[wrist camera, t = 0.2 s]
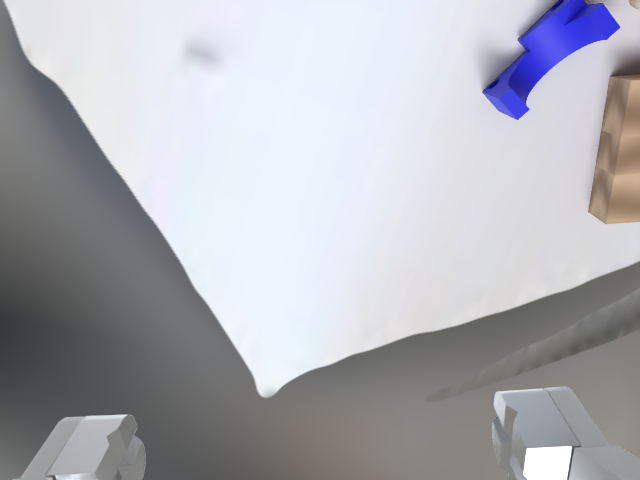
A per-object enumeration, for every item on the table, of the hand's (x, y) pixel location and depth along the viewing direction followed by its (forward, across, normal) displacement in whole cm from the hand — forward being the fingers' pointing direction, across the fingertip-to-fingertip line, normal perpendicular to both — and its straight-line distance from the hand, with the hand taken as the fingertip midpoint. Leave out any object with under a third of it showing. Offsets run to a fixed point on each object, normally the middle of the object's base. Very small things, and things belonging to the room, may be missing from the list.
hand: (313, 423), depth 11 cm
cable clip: (+48, -23, -3) cm, 53 cm away
